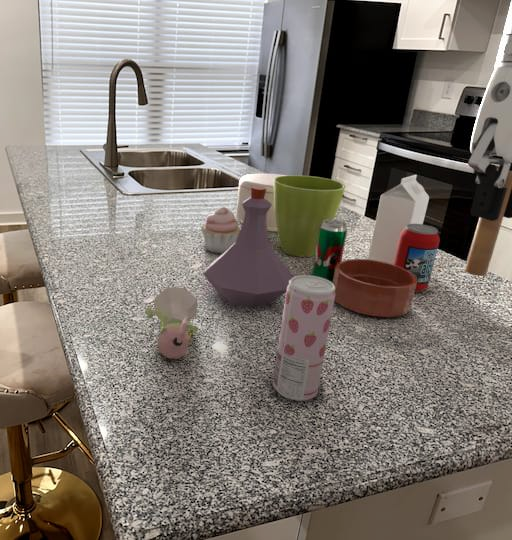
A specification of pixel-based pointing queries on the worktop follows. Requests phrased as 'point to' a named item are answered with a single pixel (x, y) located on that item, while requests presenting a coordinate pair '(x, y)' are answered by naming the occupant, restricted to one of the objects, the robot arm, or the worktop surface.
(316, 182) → the flower pot
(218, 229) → the cupcake
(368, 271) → the bowl
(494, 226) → the stick
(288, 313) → the beverage can
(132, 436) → the worktop surface
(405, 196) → the milk carton
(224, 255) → the flask
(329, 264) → the soda can
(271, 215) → the container
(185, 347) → the figurine
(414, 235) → the beverage can
